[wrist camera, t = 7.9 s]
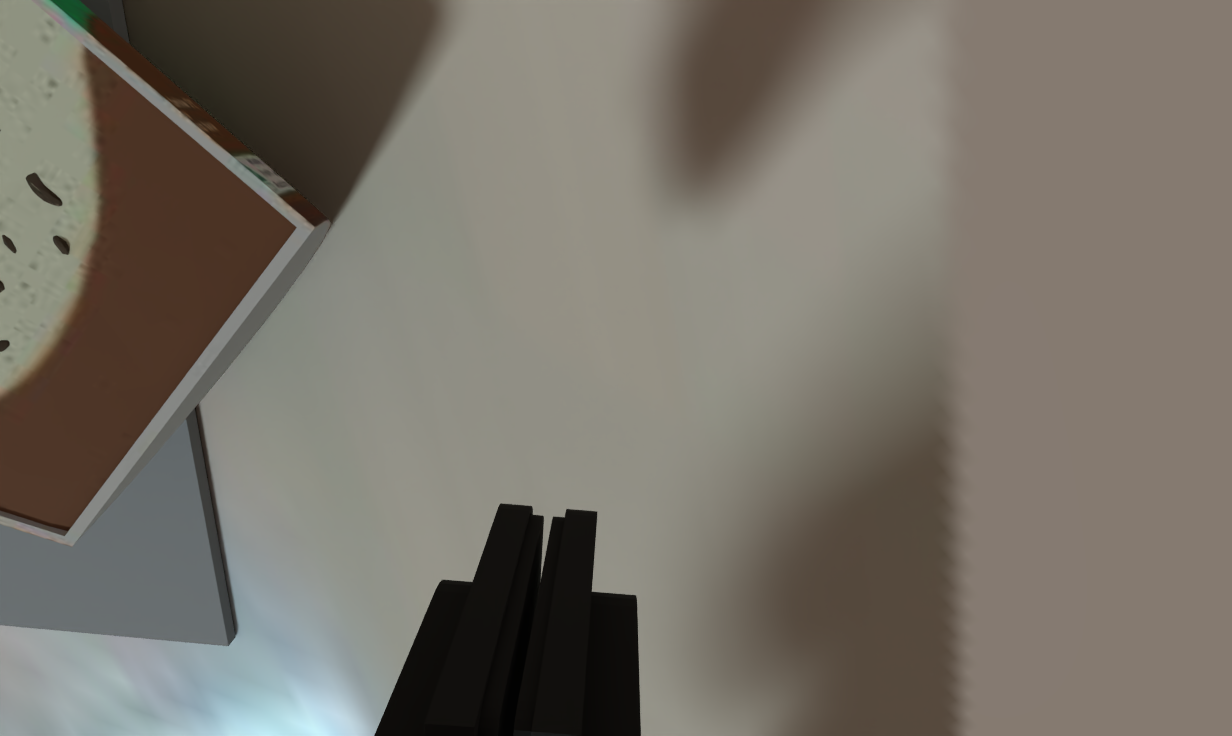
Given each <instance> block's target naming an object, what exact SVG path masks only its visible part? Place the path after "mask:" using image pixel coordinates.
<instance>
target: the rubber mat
mask: <svg viewBox="0 0 1232 736" xmlns="http://www.w3.org/2000/svg"><path fill="white" fill-rule="evenodd" d="M80 1H81V2H82V3H83V4H84V5H85V6H86V7H88V8H89V9H90V10H91V11H92V12H93V13H94V14H96V15H97V16H98V17H99V18H100V19H101V20H102V21H103V22H105V23H106V24H107V25H108V26H109V27H110V28H111V29H113V30H114V31H115V32H116V33H117V34H118V35H119V36H121V37H122V38H123V39H124V40H125V41H126V42H127V43H129V38H128V32H127V26H126V21H125V15H124V10H123V4H122V0H80ZM129 44H130V43H129ZM0 625H5V626H16V627H27V628H38V629H49V630H60V631H70V632H81V633H92V634H103V635H114V636H125V637H135V638H146V639H157V640H168V641H179V642H190V643H201V644H211V645H222V646H229V645H230V643H231V642H232V641H233V640H234V638H235V631H234V625H233V620H232V614H231V609H230V603H229V597H228V592H227V586H226V581H225V575H224V569H223V564H222V558H221V553H220V547H219V541H218V536H217V530H216V525H215V519H214V514H213V508H212V502H211V497H210V491H209V486H208V480H207V474H206V469H205V463H204V458H203V452H202V446H201V441H200V435H199V430H198V424H197V418H196V413H195V408H194V409H193V411H192V412H191V413H190V414H189V415H188V417H187V418H186V419H185V420H184V421H183V422H182V424H181V425H180V426H179V427H178V428H177V429H176V431H175V432H174V433H173V434H172V435H171V436H170V438H169V439H168V440H167V441H166V442H165V443H164V445H163V446H162V447H161V448H160V449H159V450H158V452H157V453H156V454H155V455H154V456H153V457H152V458H151V460H150V461H149V462H148V463H147V464H146V465H145V467H144V468H143V469H142V470H141V471H140V472H139V473H138V474H137V476H136V477H135V478H134V479H133V480H132V481H131V482H130V484H129V485H128V486H127V487H126V488H125V489H124V490H123V491H122V493H121V494H120V495H119V496H118V497H117V498H116V499H115V500H114V501H113V503H112V504H111V505H110V506H109V507H108V508H107V509H106V510H105V511H104V513H103V514H102V515H101V516H100V517H99V518H98V519H97V520H96V521H95V523H94V524H93V525H92V526H91V527H90V528H89V529H88V530H87V531H86V532H85V533H84V534H83V536H82V537H81V538H80V539H79V540H78V541H77V542H76V543H75V544H74V545H73V546H72V547H70V546H67V545H64V544H61V543H58V542H54V541H51V540H48V539H45V538H42V537H39V536H36V535H32V534H29V533H26V532H23V531H20V530H17V529H14V528H10V527H7V526H4V525H1V524H0Z"/></svg>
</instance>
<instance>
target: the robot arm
mask: <svg viewBox="0 0 1232 736" xmlns="http://www.w3.org/2000/svg"><path fill="white" fill-rule="evenodd" d="M543 524H544V517H543V516H540V515H533V508H532V506H524V505H512V504H500V505H499V507H498V510H497V513H496V516H495V519H494V522H493V524H492V527H491V530H490V533H489V536H488V539H487V542H486V545H485V548H484V551H483V554H482V556H481V559H480V562H479V565H478V568H477V571H476V574H475V577H474V580H473V582H464V581H452V580H442V581H441V582H440V583H439V585H438V586H437V588H436V590H435V593H434V595H433V597H432V600H431V602H430V605H429V607H428V609H427V612H426V614H425V616H424V619H423V621H422V624H421V626H420V628H419V631H418V633H417V636H416V638H415V640H414V643H413V645H412V647H411V650H410V652H409V655H408V657H407V659H406V662H405V664H404V666H403V669H402V671H401V674H400V676H399V678H398V681H397V683H396V685H395V688H394V690H393V693H392V695H391V697H390V700H389V702H388V705H387V707H386V709H385V712H384V714H383V716H382V719H381V721H380V724H379V726H378V728H377V731H376V733H375V735H374V736H641V726H640V691H639V655H638V619H637V598H636V595H625V594H612V593H600V592H592V579H593V565H594V552H595V538H596V524H597V512H595V511H583V510H571V509H566V514H565V518H564V517H553V519H552V524H551V530H550V535H549V540H548V545H547V551H546V556H545V561H544V566H543V572H542V577H541V561H542V542H543ZM540 580H541V582H540Z"/></svg>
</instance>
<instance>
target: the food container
mask: <svg viewBox="0 0 1232 736" xmlns="http://www.w3.org/2000/svg"><path fill="white" fill-rule="evenodd" d="M330 226H331V223H330V221H329V219H328V218H327V217H326V216H324V215H323V214H322V213H321V212H320V211H319V210H318V209H317V208H315V207H314V206H313V205H312V204H311V203H310V202H309V201H307V200H306V199H305V198H304V197H303V196H302V195H301V194H299V193H298V192H297V191H296V190H295V189H294V188H293V187H291V186H290V185H289V184H288V183H287V182H286V181H285V180H283V179H282V178H281V177H280V176H279V175H278V174H277V173H275V172H274V171H273V170H272V169H271V168H270V167H269V166H268V165H266V164H265V163H264V162H263V161H262V160H261V159H260V158H258V157H257V156H256V155H255V154H254V153H253V152H252V151H250V150H249V149H248V148H247V147H246V146H245V145H244V144H242V143H241V142H240V141H239V140H238V139H237V138H236V137H234V136H233V135H232V134H231V133H230V132H229V131H228V130H227V129H225V128H224V127H223V126H222V125H221V124H220V123H219V122H217V121H216V120H215V119H214V118H213V117H212V116H211V115H209V114H208V113H207V112H206V111H205V110H204V109H203V108H201V107H200V106H199V105H198V104H197V103H196V102H195V101H193V100H192V99H191V98H190V97H189V96H188V95H187V94H186V93H184V92H183V91H182V90H181V89H180V88H179V87H178V86H176V85H175V84H174V83H173V82H172V81H171V80H170V79H168V78H167V77H166V76H165V75H164V74H163V73H162V72H160V71H159V70H158V69H157V68H156V67H155V66H154V65H152V64H151V63H150V62H149V61H148V60H147V59H146V58H144V57H143V56H142V55H141V54H140V53H139V52H138V51H137V50H135V49H134V48H133V47H132V46H131V45H130V44H129V43H127V42H126V41H125V40H124V39H123V38H122V37H121V36H119V35H118V34H117V33H116V32H115V31H114V30H113V29H111V28H110V27H109V26H108V25H107V24H106V23H105V22H103V21H102V20H101V19H100V18H99V17H98V16H97V15H96V14H94V13H93V12H92V11H91V10H90V9H89V8H88V7H86V6H85V5H84V4H83V3H82V2H81V1H80V0H0V524H1V525H4V526H7V527H10V528H14V529H17V530H20V531H23V532H26V533H29V534H32V535H36V536H39V537H42V538H45V539H48V540H51V541H54V542H58V543H61V544H64V545H67V546H70V547H72V546H73V545H74V544H75V543H76V542H77V541H78V540H79V539H80V538H81V537H82V536H83V534H84V533H85V532H86V531H87V530H88V529H89V528H90V527H91V526H92V525H93V524H94V523H95V521H96V520H97V519H98V518H99V517H100V516H101V515H102V514H103V513H104V511H105V510H106V509H107V508H108V507H109V506H110V505H111V504H112V503H113V501H114V500H115V499H116V498H117V497H118V496H119V495H120V494H121V493H122V491H123V490H124V489H125V488H126V487H127V486H128V485H129V484H130V482H131V481H132V480H133V479H134V478H135V477H136V476H137V474H138V473H139V472H140V471H141V470H142V469H143V468H144V467H145V465H146V464H147V463H148V462H149V461H150V460H151V458H152V457H153V456H154V455H155V454H156V453H157V452H158V450H159V449H160V448H161V447H162V446H163V445H164V443H165V442H166V441H167V440H168V439H169V438H170V436H171V435H172V434H173V433H174V432H175V431H176V429H177V428H178V427H179V426H180V425H181V424H182V422H183V421H184V420H185V419H186V418H187V417H188V415H189V414H190V413H191V412H192V411H193V409H194V408H195V407H196V406H197V405H198V403H199V402H200V401H201V400H202V399H203V397H204V396H205V395H206V394H207V393H208V391H209V390H210V389H211V388H212V387H213V385H214V384H215V383H216V382H217V381H218V379H219V378H220V377H221V376H222V374H223V373H224V372H225V371H226V370H227V368H228V367H229V366H230V365H231V363H232V362H233V361H234V360H235V358H236V357H237V356H238V355H239V354H240V352H241V351H242V350H243V349H244V347H245V346H246V345H247V344H248V342H249V341H250V340H251V339H252V337H253V336H254V335H255V333H256V332H257V331H258V330H259V328H260V327H261V326H262V325H263V323H264V322H265V321H266V319H267V318H268V317H269V316H270V314H271V313H272V312H273V310H274V309H275V308H276V306H277V305H278V304H279V302H280V301H281V300H282V298H283V297H284V296H285V294H286V293H287V292H288V290H289V289H290V288H291V286H292V285H293V284H294V282H295V281H296V279H297V278H298V277H299V275H300V274H301V273H302V271H303V270H304V268H305V267H306V265H307V264H308V262H309V261H310V259H311V258H312V256H313V255H314V253H315V252H316V250H317V249H318V247H319V246H320V244H321V243H322V241H323V239H324V237H325V235H326V233H327V231H328V229H329V228H330Z"/></svg>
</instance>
